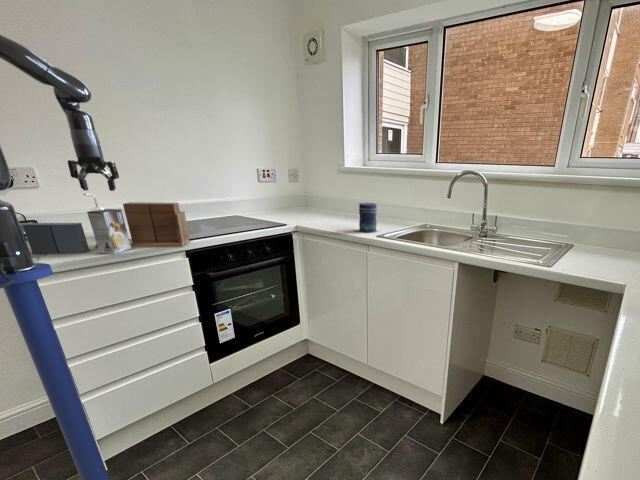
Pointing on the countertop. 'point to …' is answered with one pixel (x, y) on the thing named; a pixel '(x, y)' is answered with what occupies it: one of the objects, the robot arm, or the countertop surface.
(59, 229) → the grey book
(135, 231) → the box
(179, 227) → the wooden rack
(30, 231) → the grey book
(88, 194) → the cup with straw
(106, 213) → the coffee box
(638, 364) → the countertop surface
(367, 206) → the storage jar
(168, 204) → the box
